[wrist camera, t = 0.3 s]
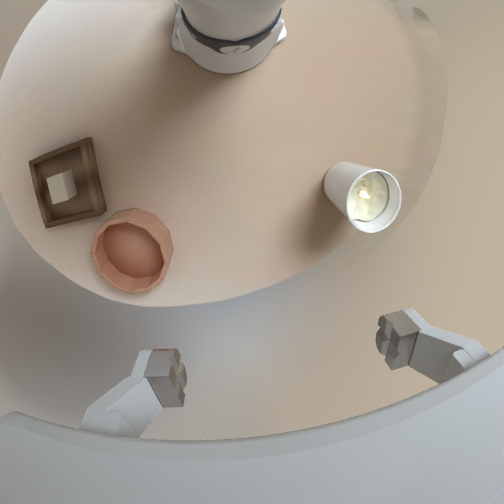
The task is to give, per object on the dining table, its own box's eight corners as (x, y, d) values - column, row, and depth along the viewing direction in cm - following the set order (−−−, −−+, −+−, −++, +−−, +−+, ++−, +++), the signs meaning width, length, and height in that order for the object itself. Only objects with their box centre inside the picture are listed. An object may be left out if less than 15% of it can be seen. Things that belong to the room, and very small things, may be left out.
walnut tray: (37, 158, 38) (28, 161, 35) (91, 137, 38) (83, 138, 36) (53, 223, 44) (45, 228, 41) (106, 210, 45) (100, 215, 42)
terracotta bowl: (93, 216, 45) (82, 226, 40) (163, 202, 45) (156, 211, 41) (115, 281, 52) (107, 295, 47) (179, 274, 52) (176, 288, 48)
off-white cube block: (56, 174, 39) (46, 178, 36) (71, 168, 39) (62, 172, 36) (62, 198, 41) (52, 204, 38) (77, 194, 42) (68, 199, 38)
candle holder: (360, 211, 50) (392, 235, 39) (314, 205, 48) (339, 230, 38) (370, 162, 45) (407, 176, 35) (324, 152, 44) (353, 163, 33)
